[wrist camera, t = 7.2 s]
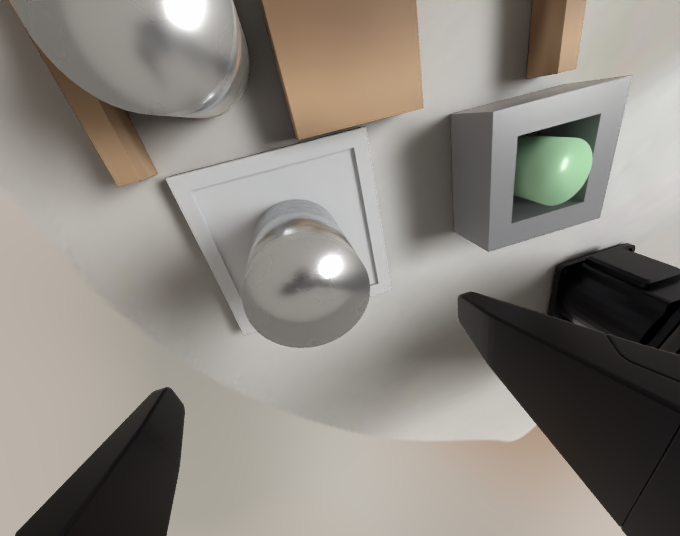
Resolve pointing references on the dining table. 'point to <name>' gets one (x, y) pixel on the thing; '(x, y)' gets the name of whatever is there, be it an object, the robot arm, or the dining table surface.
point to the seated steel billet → (146, 51)
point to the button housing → (500, 159)
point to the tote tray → (276, 186)
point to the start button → (551, 168)
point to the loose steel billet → (302, 277)
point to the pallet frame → (332, 69)
